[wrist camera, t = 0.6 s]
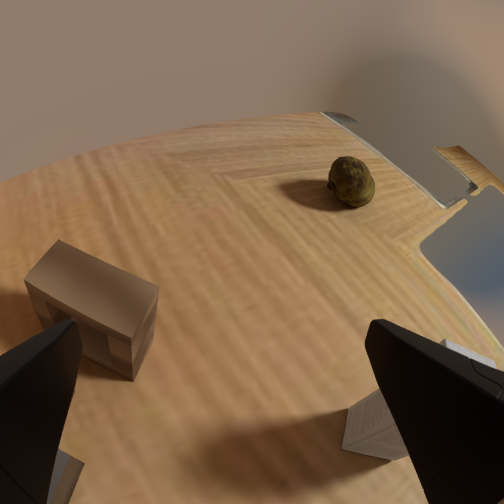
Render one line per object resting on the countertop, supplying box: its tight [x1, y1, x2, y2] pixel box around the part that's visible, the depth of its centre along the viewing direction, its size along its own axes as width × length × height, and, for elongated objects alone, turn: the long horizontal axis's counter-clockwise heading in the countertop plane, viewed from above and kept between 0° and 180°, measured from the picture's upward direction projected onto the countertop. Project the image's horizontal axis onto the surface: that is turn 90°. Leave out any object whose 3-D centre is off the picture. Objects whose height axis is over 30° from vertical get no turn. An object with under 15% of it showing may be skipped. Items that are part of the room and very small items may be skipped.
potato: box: [327, 156, 375, 207], centre depth 47 cm, size 8×13×8 cm, turn 116°
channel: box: [47, 449, 85, 504], centre depth 9 cm, size 11×6×4 cm, turn 167°
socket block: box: [24, 239, 160, 381], centre depth 19 cm, size 4×8×7 cm, turn 77°
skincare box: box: [341, 339, 496, 460], centre depth 18 cm, size 6×4×12 cm
